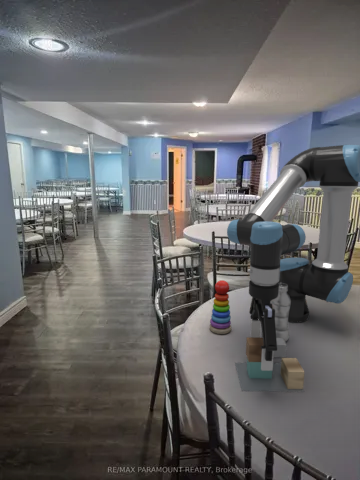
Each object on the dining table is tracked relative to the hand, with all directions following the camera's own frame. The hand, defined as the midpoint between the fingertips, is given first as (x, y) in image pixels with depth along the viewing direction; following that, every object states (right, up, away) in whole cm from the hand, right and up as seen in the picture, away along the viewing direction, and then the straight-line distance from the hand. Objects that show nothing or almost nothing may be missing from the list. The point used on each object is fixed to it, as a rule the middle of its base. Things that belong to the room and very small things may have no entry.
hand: (260, 354), depth 82 cm
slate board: (+2, -7, 0) cm, 7 cm away
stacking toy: (-7, -1, +27) cm, 28 cm away
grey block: (+7, -5, +11) cm, 14 cm away
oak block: (+8, -6, -2) cm, 10 cm away
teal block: (0, -6, +1) cm, 6 cm away
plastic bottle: (+11, -3, +20) cm, 23 cm away
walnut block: (-1, -1, 0) cm, 1 cm away
